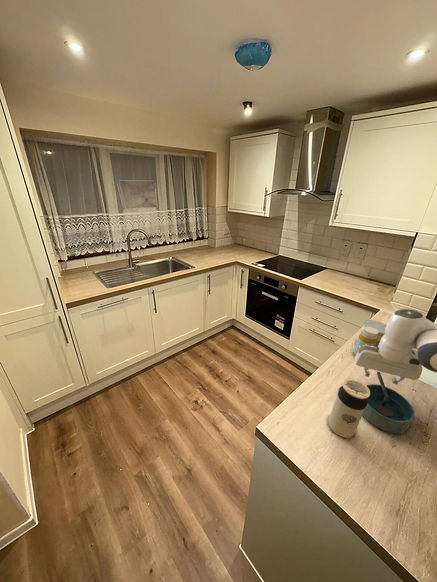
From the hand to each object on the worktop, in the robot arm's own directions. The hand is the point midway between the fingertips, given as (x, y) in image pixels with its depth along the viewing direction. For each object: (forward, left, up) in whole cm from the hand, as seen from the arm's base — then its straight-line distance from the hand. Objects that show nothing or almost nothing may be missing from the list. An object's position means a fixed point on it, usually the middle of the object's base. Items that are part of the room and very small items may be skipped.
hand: (380, 379), depth 90 cm
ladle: (0, +5, -5) cm, 8 cm away
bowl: (0, +11, -6) cm, 13 cm away
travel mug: (+14, +22, -6) cm, 27 cm away
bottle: (+2, -21, -6) cm, 22 cm away
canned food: (-3, -31, -6) cm, 32 cm away
